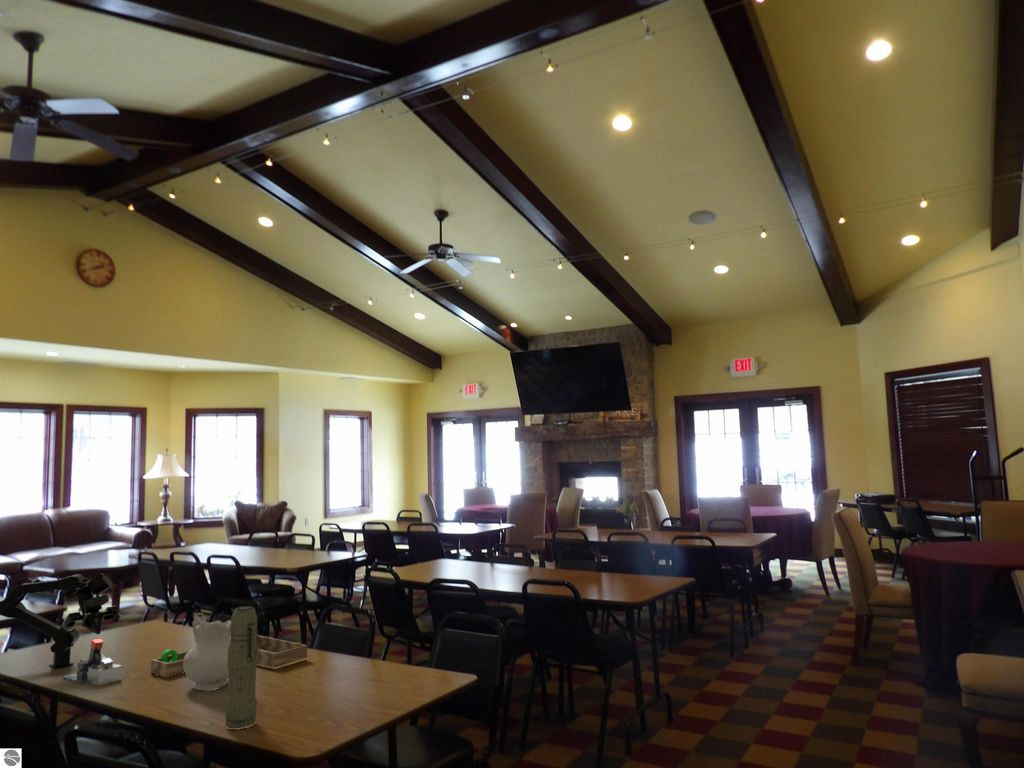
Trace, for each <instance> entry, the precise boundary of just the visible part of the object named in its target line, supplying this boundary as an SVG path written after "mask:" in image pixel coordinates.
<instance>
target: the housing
mask: <svg viewBox="0 0 1024 768" xmlns="http://www.w3.org/2000/svg"><path fill="white" fill-rule="evenodd" d="M122 668H123V666H122V665H121V664H118V663H114V662H113V666H111V667H108V668H103V669H102V668H101V665H98V666H94V667H89V669H88V682H87V683H89V682H90V683H89V684H93V685H96V686H98V685H99V686H103V685H107V684H111V683H115V682H118V680H119V681H122V673H123V672H122V670H123V669H122ZM114 681H115V682H114ZM110 682H111V683H110Z"/></svg>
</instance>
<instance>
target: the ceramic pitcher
mask: <svg viewBox="0 0 1024 768" xmlns="http://www.w3.org/2000/svg"><path fill="white" fill-rule="evenodd" d="M194 616H195V617H194V619H193V622H192V624H193V625H192V633H193V639H194V642H195V645H194V646H193V648H191V649H190V650H188V651H189V652H188V653H187V654H186V655H185V657H184V660H183V667H184V672H185V673H184V674H185V676H186V677H187V678H188V679H189V681H191V682H192V683H195V684H194V685H193V687H194V690H197V691H201V690H211V689H215V688H219V687H221V688H223V687H225V686H227V685H228V684H227V683H228V682H229V669H228V666H227V664H228V648H229V645H230V639H231V619H230V620H227V621H225V622H223V621H221V620H215V621H212V622H210V621H209V622H207V621H206V620H205V616H204V612H203V613H202V612H201V613H200V612H196V613H195V614H194ZM226 684H227V685H226ZM222 686H223V687H222Z"/></svg>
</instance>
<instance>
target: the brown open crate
mask: <svg viewBox="0 0 1024 768" xmlns="http://www.w3.org/2000/svg"><path fill="white" fill-rule="evenodd" d="M257 644H258V648H259V649H263V650H267V651H263V650H259V649H258V664H260V665H265V666H270V667H278V666H281V665H284V664H287V663H290V662H293V661H297V660H300V659H303V658H307V659H308V645H307V644H302V643H298V642H293V641H288V640H283V639H278V638H272V637H269V636H263V635H259V634H257ZM268 651H271V652H268ZM272 652H277V653H272Z"/></svg>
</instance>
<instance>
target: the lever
mask: <svg viewBox="0 0 1024 768" xmlns="http://www.w3.org/2000/svg"><path fill="white" fill-rule="evenodd" d="M103 644H104V641H103V639H101V638H95V639H92V640H91V643H90V651H89V652H90V653H89V656H88V657H86V658H81V659H80V660H79V662H85V663H88V669H89V667H94V666H98V665H101V666H102V667H103V668H107V667H111V666H113V663H114V661H113V659H111V657H106V656H105V655H104V654H103V653H102V652H101V650H102V649H103ZM98 660H99V661H100V664H99V663H98ZM88 669H87V672H88Z"/></svg>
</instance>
